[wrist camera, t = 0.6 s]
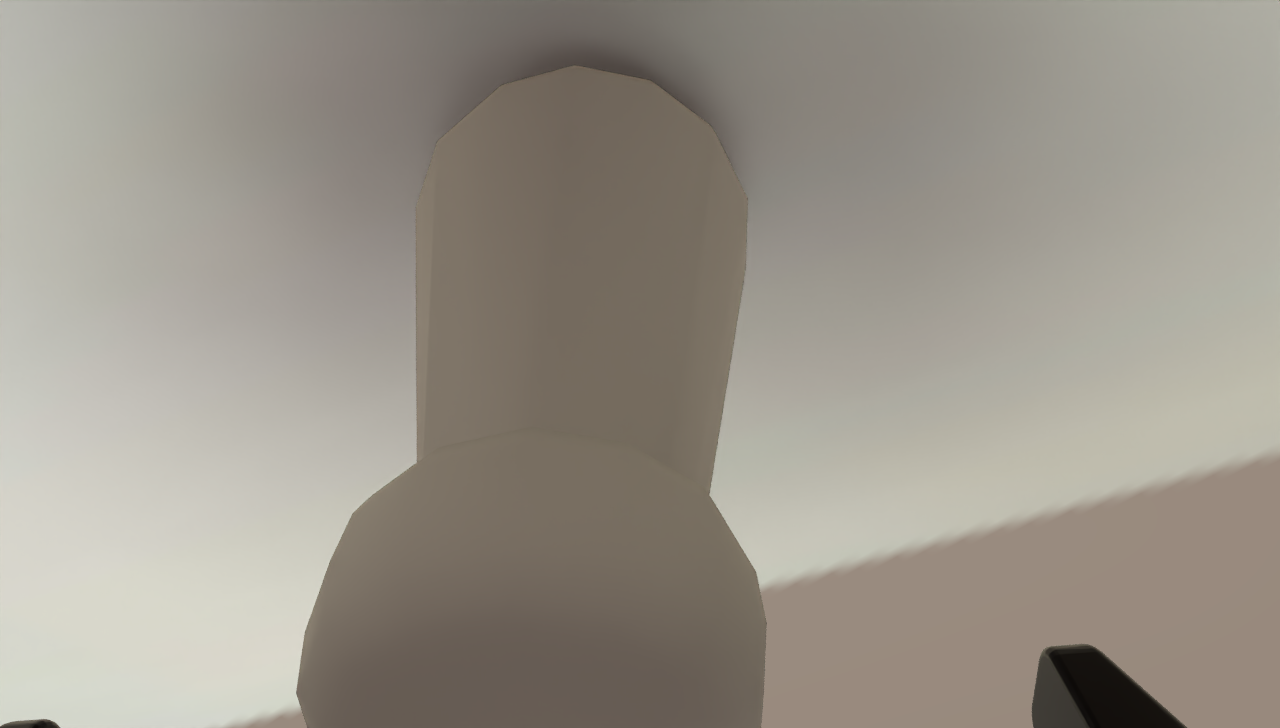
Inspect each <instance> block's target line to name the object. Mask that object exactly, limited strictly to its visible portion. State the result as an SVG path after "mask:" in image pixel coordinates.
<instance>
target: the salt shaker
mask: <svg viewBox="0 0 1280 728" xmlns="http://www.w3.org/2000/svg"><path fill="white" fill-rule="evenodd" d="M747 206H748V198H747V196H746V194H745V192H744V190H743V188H742V186H741V184H740V182H739V180H738V178H737V176H736V174H735V172H734V170H733V168H732V166H731V164H730V162H729V159H728V157H727V155H726V153H725V151H724V149H723V147H722V145H721V143H720V141H719V139H718V137H717V135H716V133H715V131H714V130H713V128H712V127H711V125H710V124H708V123H707V122H706V121H704V120H703V119H702V118H700V117H699V116H698V115H696V114H695V113H694V112H692V111H691V110H690V109H688V108H687V107H686V106H684V105H683V104H682V103H680V102H679V101H678V100H676V99H675V98H674V97H672V96H671V95H670V94H668V93H667V92H666V91H664V90H663V89H662V88H660V87H659V86H658V85H656V84H655V83H654V82H652V81H651V80H647V79H642V78H637V77H632V76H627V75H622V74H617V73H612V72H607V71H602V70H597V69H592V68H587V67H582V66H577V65H572V66H569V67H565V68H561V69H558V70H554V71H550V72H547V73H543V74H539V75H536V76H532V77H528V78H525V79H521V80H517V81H514V82H510V83H506V84H503V85H501V86H500V87H499V88H497V89H496V90H495V91H494V92H493V93H492V94H490V95H489V96H488V97H487V98H486V99H485V100H484V101H482V102H481V103H480V104H479V105H478V106H477V107H476V108H475V109H473V110H472V111H471V112H470V113H469V114H468V115H467V116H465V117H464V118H463V119H462V120H461V121H460V122H459V123H457V124H456V125H455V126H454V127H453V128H452V129H451V130H449V131H448V132H447V133H446V134H445V135H444V136H443V137H442V138H440V139H439V140H438V141H437V143H436V146H435V150H434V153H433V156H432V159H431V162H430V165H429V168H428V171H427V174H426V177H425V180H424V184H423V187H422V190H421V193H420V196H419V199H418V202H417V205H416V380H417V463H416V464H415V465H413V466H412V467H410V468H409V469H408V470H406V471H405V472H404V473H402V474H401V475H399V476H398V477H397V478H395V479H394V480H392V481H391V482H390V483H388V484H387V485H386V486H384V487H383V488H381V489H380V490H379V491H377V492H376V493H375V494H373V495H372V496H371V497H370V498H369V499H368V500H367V501H366V502H364V503H363V504H362V505H361V506H360V507H359V508H358V509H357V510H356V511H355V512H354V513H353V514H352V516H351V518H350V520H349V522H348V525H347V527H346V529H345V531H344V533H343V535H342V537H341V539H340V541H339V544H338V546H337V548H336V550H335V552H334V554H333V556H332V558H331V560H330V563H329V566H328V569H327V571H326V574H325V577H324V580H323V583H322V585H321V588H320V591H319V594H318V597H317V600H316V602H315V605H314V608H313V611H312V614H311V617H310V619H309V622H308V625H307V628H306V631H305V635H304V642H303V649H302V656H301V663H300V670H299V677H298V684H297V691H296V694H297V697H298V700H299V703H300V706H301V710H302V713H303V716H304V719H305V722H306V725H307V728H761V722H762V709H763V695H764V671H765V648H766V624H767V623H766V618H765V613H764V608H763V603H762V599H761V594H760V589H759V584H758V579H757V574H756V571H755V569H754V568H753V566H752V565H751V563H750V561H749V560H748V558H747V556H746V555H745V553H744V551H743V550H742V548H741V546H740V545H739V543H738V541H737V540H736V538H735V536H734V535H733V533H732V531H731V530H730V528H729V527H728V525H727V523H726V522H725V520H724V518H723V517H722V515H721V513H720V512H719V510H718V508H717V507H716V505H715V503H714V502H713V500H712V499H711V497H710V495H709V493H710V487H711V481H712V475H713V468H714V462H715V456H716V450H717V444H718V437H719V431H720V425H721V419H722V413H723V406H724V400H725V394H726V388H727V382H728V375H729V369H730V363H731V357H732V350H733V344H734V338H735V332H736V326H737V319H738V313H739V307H740V301H741V295H742V288H743V282H744V276H745V270H746V243H747Z"/></svg>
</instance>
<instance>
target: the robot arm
mask: <svg viewBox="0 0 1280 728" xmlns="http://www.w3.org/2000/svg"><path fill="white" fill-rule="evenodd" d="M1032 720H1033V727H1034V728H1187V727H1186V726H1185V725H1184V724H1182V723H1181V722H1180V721H1179V720H1178V719H1177V718H1176V717H1174V716H1173V715H1172V714H1171V713H1170V712H1169V711H1168V710H1167V709H1166V708H1164V707H1163V706H1162V705H1161V704H1160V703H1159V702H1158V701H1157V700H1155V699H1154V698H1153V697H1152V696H1151V695H1150V694H1148V692H1146V691H1145V690H1144V689H1143V688H1142V687H1141V686H1140V685H1138V684H1137V683H1136V682H1135V681H1134V680H1133V679H1132V678H1130V677H1129V676H1128V675H1127V674H1126V673H1125V672H1124V671H1123V670H1122V669H1120V668H1119V667H1118V666H1117V665H1116V664H1115V663H1114V662H1113V661H1111V660H1110V659H1109V658H1108V657H1107V656H1106V655H1105V654H1103V653H1102V652H1101V651H1100V650H1098V649H1097V648H1095V647H1093V646H1091V645H1088V644H1075V645H1062V646H1050V647H1047V648H1045V649H1044V650H1043V652H1042V653H1041V656H1040V659H1039V666H1038V672H1037V678H1036V684H1035V690H1034V697H1033V703H1032ZM0 728H60V727H59V726H58V725H57V724H56V723H55V722H53V721H51V720H47V719H40V720H27V721H15V722H10V723H7V724H4V725H2V726H0Z"/></svg>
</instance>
